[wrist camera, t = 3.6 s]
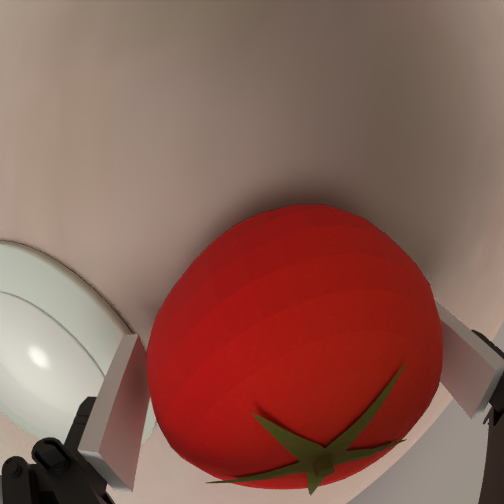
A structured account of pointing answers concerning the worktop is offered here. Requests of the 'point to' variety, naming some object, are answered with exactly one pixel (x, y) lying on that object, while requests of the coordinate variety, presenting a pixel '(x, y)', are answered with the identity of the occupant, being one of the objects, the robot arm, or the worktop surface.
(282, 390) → the tomato
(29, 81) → the worktop surface
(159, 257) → the worktop surface
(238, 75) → the worktop surface
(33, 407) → the plate
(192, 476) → the worktop surface
